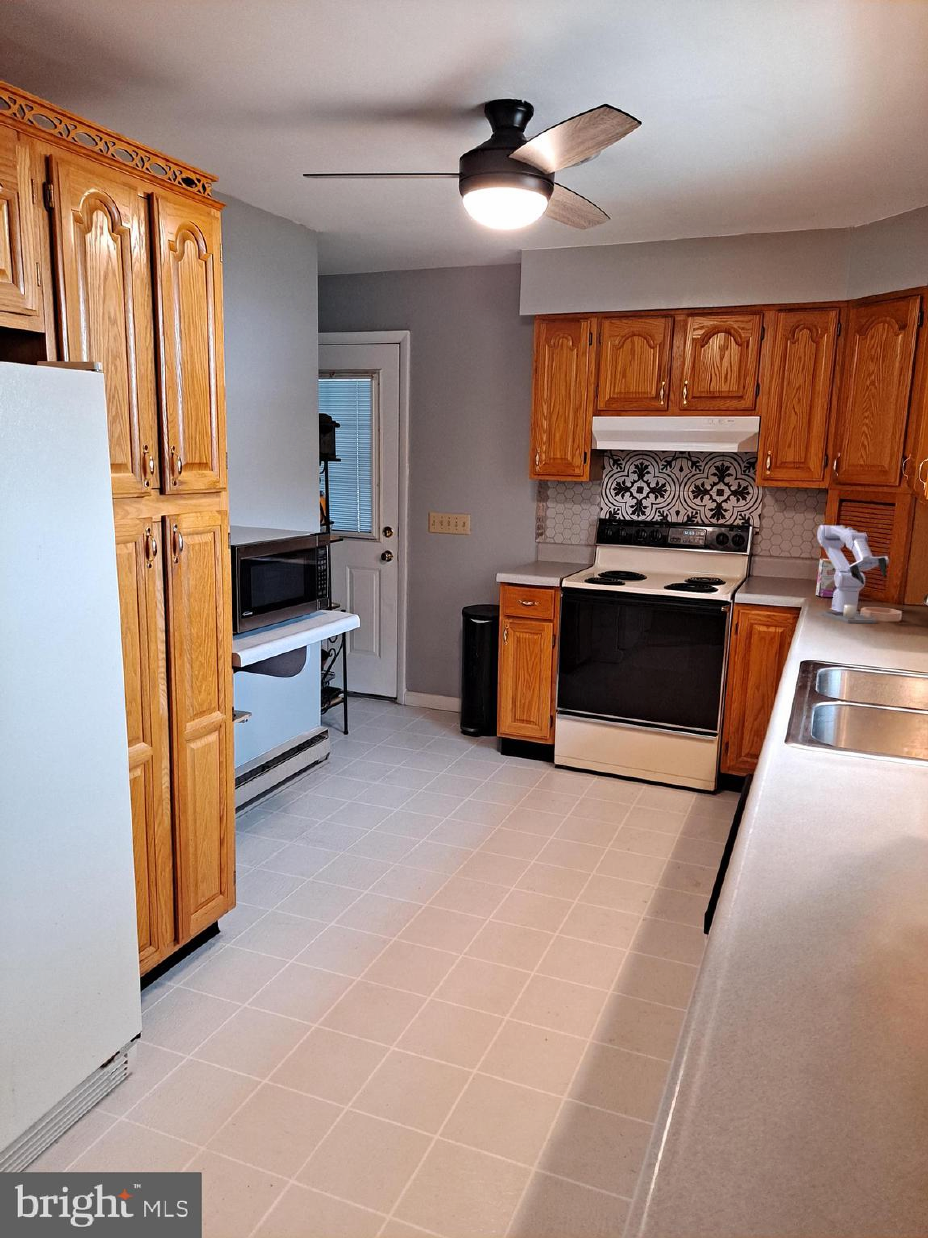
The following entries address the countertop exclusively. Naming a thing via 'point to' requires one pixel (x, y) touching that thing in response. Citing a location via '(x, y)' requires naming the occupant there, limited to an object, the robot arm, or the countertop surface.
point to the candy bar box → (826, 579)
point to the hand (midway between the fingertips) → (873, 579)
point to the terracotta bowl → (882, 613)
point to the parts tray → (857, 619)
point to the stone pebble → (849, 611)
